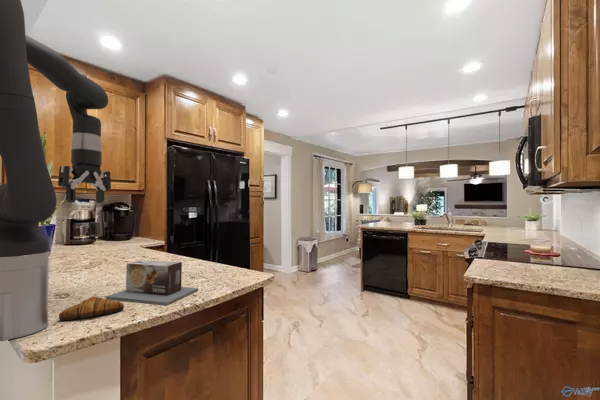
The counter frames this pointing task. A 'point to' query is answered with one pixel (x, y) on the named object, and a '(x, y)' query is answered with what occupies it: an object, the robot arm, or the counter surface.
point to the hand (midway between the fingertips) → (86, 202)
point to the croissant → (91, 308)
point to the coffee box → (153, 277)
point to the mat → (152, 296)
